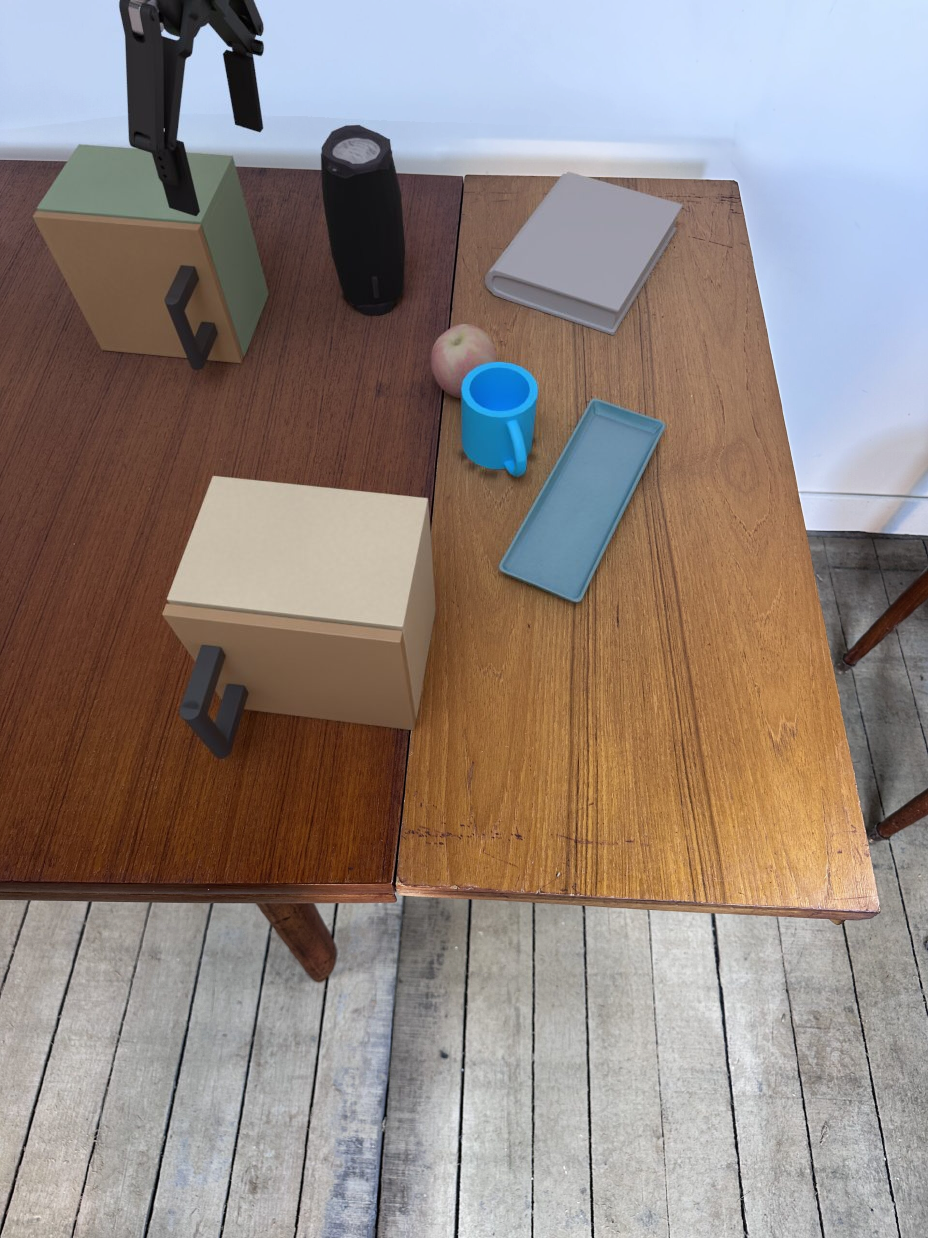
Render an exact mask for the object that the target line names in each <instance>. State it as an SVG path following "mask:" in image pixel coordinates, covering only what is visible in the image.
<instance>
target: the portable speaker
mask: <svg viewBox="0 0 928 1238" xmlns="http://www.w3.org/2000/svg"><path fill="white" fill-rule="evenodd" d="M320 172H321V174H320V175H321V176H320V177H321V192H322V203H323V208H324V214H325V215H324V216H325V222H326V228H327V235H328V239H329V240H328V241H329V246H330V247H329V248H330V252H331V259H332V260H333V265H334V268H335V271H336V274H337V275H336V276H337V278H338V281H339V284H340V285H339V286H340V288H341V292H342V295H343V297H344V299H345V300H347V301H348V302H349V304H351V305H352V306H354V307H355V308H357V310H358V311H359V312H360V313H361V314H362V315H365V316H366V317H372V316H373V317H374V316H383V315H385V314H388V313H390V312H392V311H393V308H394V306H395V304H396V303H397V302H399V300H400V299H401V297H402V296H403V293H404V290H405V273H406V272H405V271H406V270H405V269H406V243H405V242H406V241H405V229H404V228H405V227H404V213H403V200H402V198H403V197H402V192H401V187H400V182H399V179H398V174H397V169H396V165H395V162H394V157H393V150H392V144H391V139H390V138H388V137H386V136H385V135H382V134H381V133H380V132H377V131H374V130H371V129H369V128H367V127H364V126H362V125H360V124H351V125H344V126H341V127H339V128H336V129H334V130H332V131H331V132H330V134H329V135H328V137H327V138H326V140H325V141H324V143H323V144H322V146H321V153H320Z"/></svg>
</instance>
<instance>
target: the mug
mask: <svg viewBox="0 0 928 1238" xmlns="http://www.w3.org/2000/svg"><path fill="white" fill-rule="evenodd" d="M538 387H539V386H538V384H537V380H536V379H535V377H534V376H533V375H532V374H531V372H529V371H528V370H527V369H526V368H524V367H522V366H520V365H517V364H514V363H511V362H504V361H498V362H493V363H486V364H483V365H481V366H478V367H476V368H475V369H473V370H472V371H470V372H469V373H468V374H467V376H466V377H465V379H464V380H463V383H462V388H461V398H460V400H461V402H460V404H461V409H460V410H461V411H460V413H461V415H460V416H461V446H462V450H463V452H464V454H465V455H466V457H467V458H468V459H469V460H470V461H471V462H473V463H474V464H475V465H478V466H479V467H483V468H485V469H489V470H491V469H492V470H506V471H507V472H508V473H509V475H511V476H513V477H515V478H519V477H521V476H523V475H525V473H526V470H527V466H528V456H529V455H530V453H531V451H532V448H533V441H534V430H535V421H536V411H537V404H538V395H539V394H538V393H539V388H538Z"/></svg>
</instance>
